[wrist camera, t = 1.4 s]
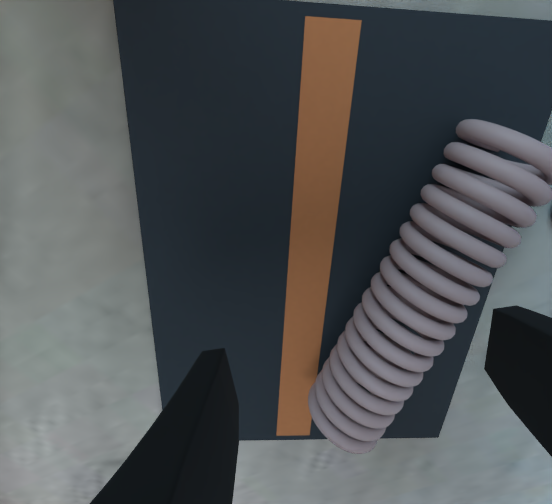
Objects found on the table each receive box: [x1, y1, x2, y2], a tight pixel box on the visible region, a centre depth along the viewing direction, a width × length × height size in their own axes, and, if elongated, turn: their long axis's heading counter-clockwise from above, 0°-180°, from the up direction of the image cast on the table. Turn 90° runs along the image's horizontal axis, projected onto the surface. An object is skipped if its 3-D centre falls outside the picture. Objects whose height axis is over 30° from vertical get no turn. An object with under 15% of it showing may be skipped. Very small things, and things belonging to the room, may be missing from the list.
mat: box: [113, 0, 552, 440], centre depth 19 cm, size 20×26×1 cm
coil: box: [308, 119, 552, 454], centre depth 17 cm, size 5×5×18 cm
